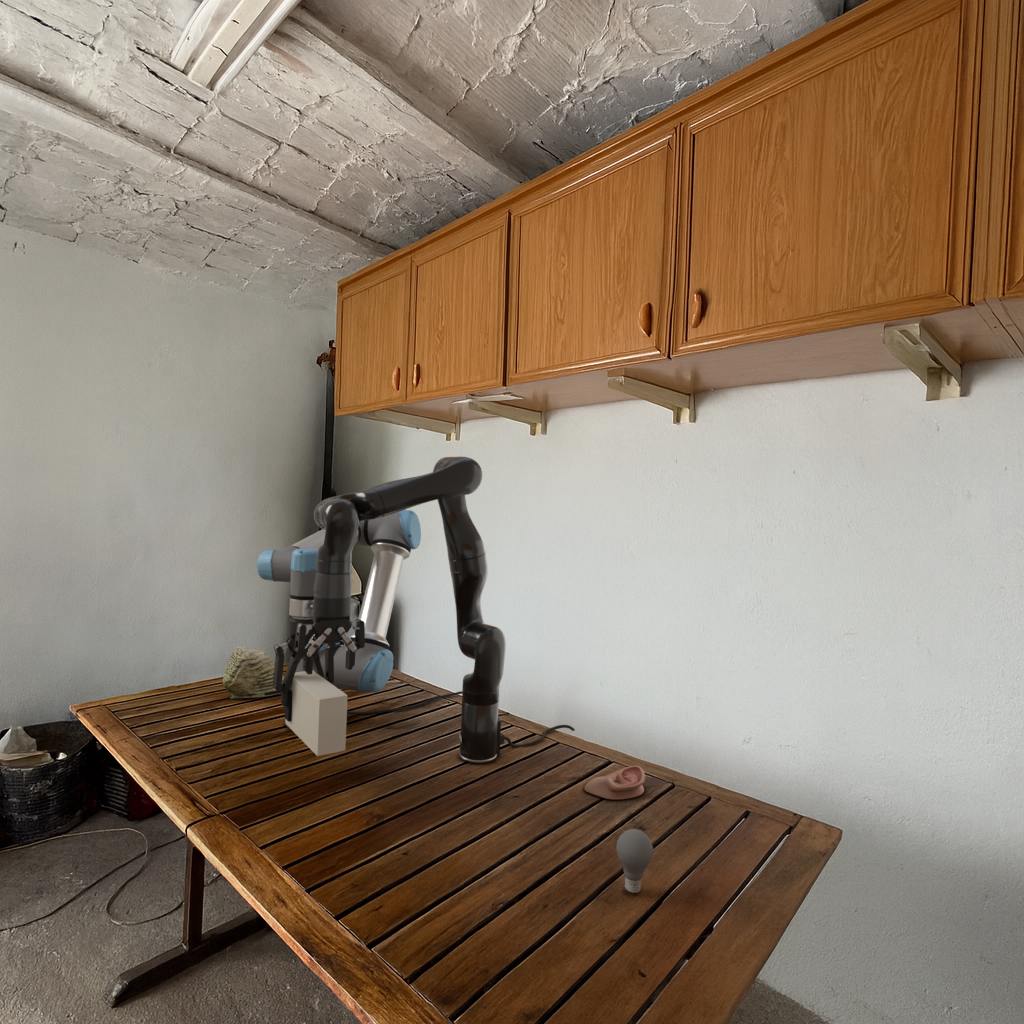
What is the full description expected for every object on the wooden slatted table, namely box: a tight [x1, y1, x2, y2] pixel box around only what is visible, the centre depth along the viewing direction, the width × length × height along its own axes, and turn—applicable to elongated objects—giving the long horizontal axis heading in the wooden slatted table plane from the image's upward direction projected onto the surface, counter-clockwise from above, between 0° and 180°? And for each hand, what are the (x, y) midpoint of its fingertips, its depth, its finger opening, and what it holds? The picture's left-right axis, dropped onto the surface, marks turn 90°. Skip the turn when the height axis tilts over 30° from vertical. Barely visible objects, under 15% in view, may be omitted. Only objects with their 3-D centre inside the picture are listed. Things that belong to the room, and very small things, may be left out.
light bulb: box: [615, 828, 654, 894], centre depth 106 cm, size 6×6×10 cm
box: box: [284, 671, 348, 757], centre depth 139 cm, size 22×6×12 cm, turn 36°
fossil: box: [222, 646, 285, 699], centre depth 198 cm, size 9×18×15 cm, turn 132°
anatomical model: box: [584, 765, 646, 800], centre depth 143 cm, size 13×4×12 cm
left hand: (302, 716), depth 145 cm, fingers closed on box, 6 cm apart
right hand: (329, 671), depth 132 cm, fingers open, 8 cm apart
